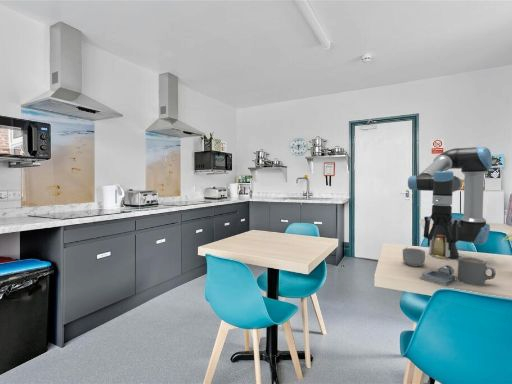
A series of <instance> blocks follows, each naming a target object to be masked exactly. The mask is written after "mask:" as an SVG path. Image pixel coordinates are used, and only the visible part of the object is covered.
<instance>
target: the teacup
mask: <svg viewBox="0 0 512 384" xmlns="http://www.w3.org/2000/svg"><path fill="white" fill-rule="evenodd" d="M402 260H403V262H404V263H405V264H406V265H408V266H411V267H421V266H422V265H424V264H425V261H426V251H425V250H423V249H420V248H414V247H412V248H411V247H404V248H403V249H402Z"/></svg>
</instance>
